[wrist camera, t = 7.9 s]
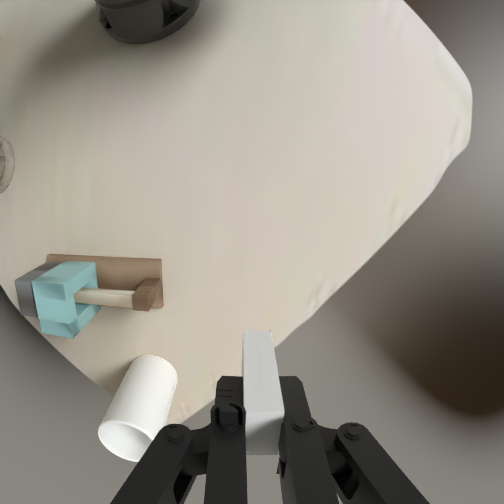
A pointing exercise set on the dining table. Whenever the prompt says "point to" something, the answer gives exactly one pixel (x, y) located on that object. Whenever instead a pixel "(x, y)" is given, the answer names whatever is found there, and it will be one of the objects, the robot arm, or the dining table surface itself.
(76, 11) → the dining table surface
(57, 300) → the sleeve
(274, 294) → the dining table surface
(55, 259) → the rail
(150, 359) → the cup
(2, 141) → the mug
